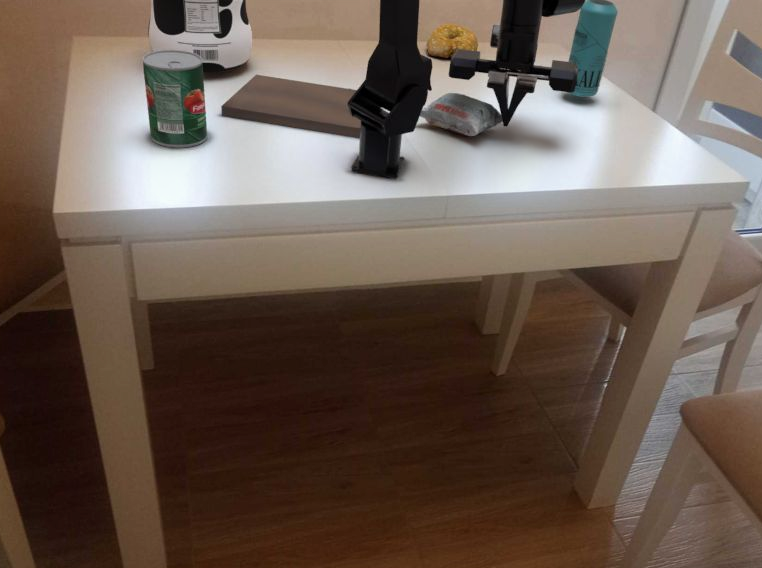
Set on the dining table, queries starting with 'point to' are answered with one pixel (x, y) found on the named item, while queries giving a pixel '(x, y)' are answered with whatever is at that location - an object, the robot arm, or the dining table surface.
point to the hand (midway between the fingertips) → (505, 125)
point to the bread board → (294, 105)
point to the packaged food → (461, 114)
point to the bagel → (451, 40)
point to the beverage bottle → (592, 44)
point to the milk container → (203, 31)
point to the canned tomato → (175, 98)
